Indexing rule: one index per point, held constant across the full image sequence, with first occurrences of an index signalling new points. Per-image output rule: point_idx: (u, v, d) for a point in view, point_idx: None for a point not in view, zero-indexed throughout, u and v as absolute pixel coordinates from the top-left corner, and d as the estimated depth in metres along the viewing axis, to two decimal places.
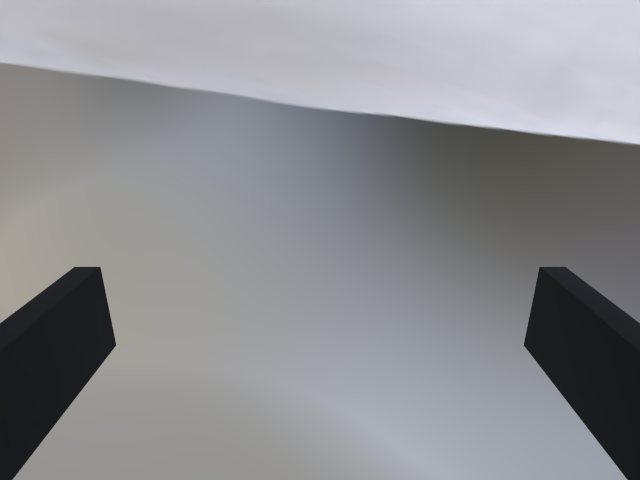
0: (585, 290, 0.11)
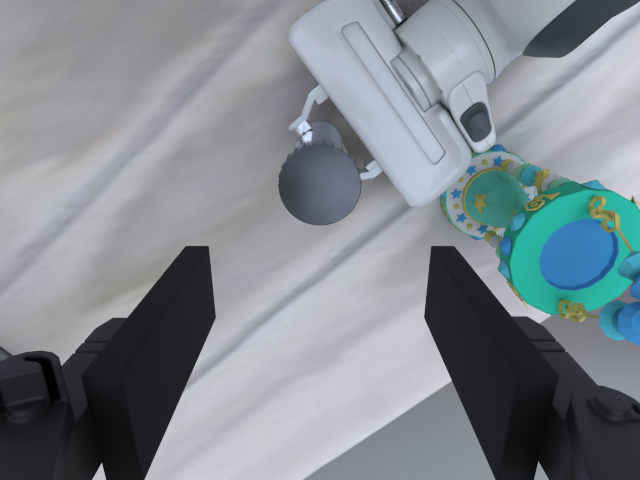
0: (459, 264, 0.12)
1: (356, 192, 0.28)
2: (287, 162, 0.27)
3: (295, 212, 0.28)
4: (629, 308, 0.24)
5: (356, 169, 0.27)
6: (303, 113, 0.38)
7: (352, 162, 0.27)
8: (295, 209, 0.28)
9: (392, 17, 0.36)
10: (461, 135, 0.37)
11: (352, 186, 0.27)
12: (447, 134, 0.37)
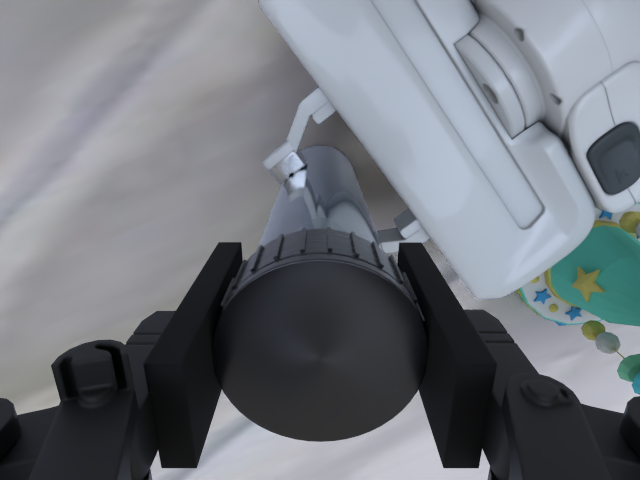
0: (422, 260, 0.13)
1: (415, 372, 0.11)
2: (231, 303, 0.10)
3: (257, 415, 0.11)
4: None
5: (418, 320, 0.10)
6: (290, 139, 0.21)
7: (408, 303, 0.10)
8: (259, 410, 0.11)
9: None
10: (581, 181, 0.20)
11: (406, 359, 0.10)
12: (555, 179, 0.20)
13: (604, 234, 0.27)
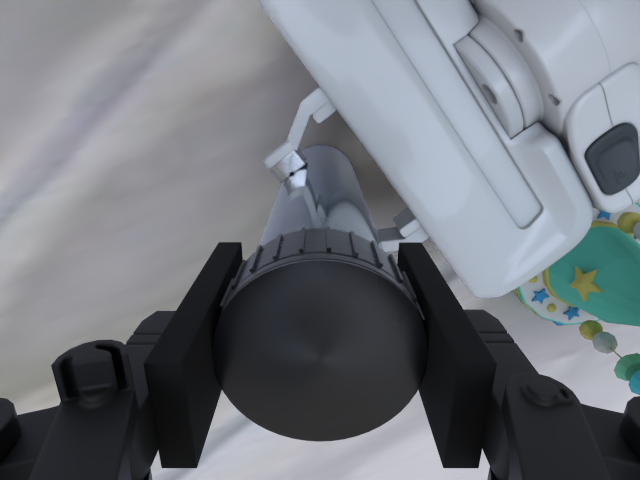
0: (422, 260, 0.13)
1: (298, 270, 0.10)
2: (294, 436, 0.11)
3: (408, 387, 0.11)
4: None
5: (238, 294, 0.10)
6: (290, 139, 0.21)
7: (226, 309, 0.10)
8: (401, 388, 0.11)
9: None
10: (579, 181, 0.20)
11: (286, 286, 0.10)
12: (553, 179, 0.20)
13: (602, 234, 0.27)
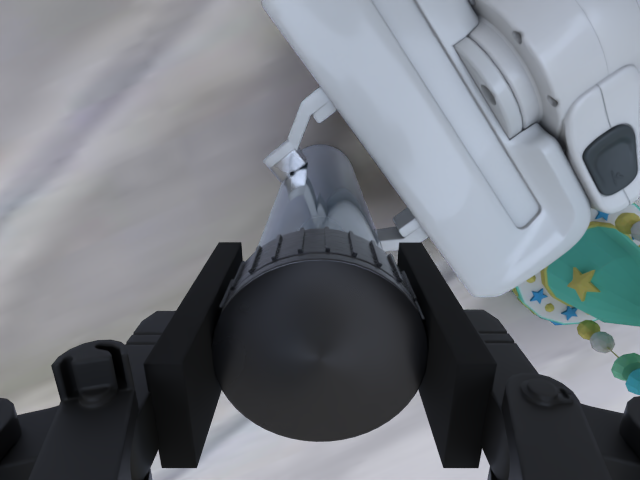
0: (422, 260, 0.13)
1: (240, 401, 0.11)
2: (425, 350, 0.10)
3: (319, 270, 0.10)
4: None
5: (283, 434, 0.11)
6: (291, 138, 0.21)
7: (302, 438, 0.11)
8: (323, 276, 0.10)
9: None
10: (577, 182, 0.20)
11: (259, 405, 0.11)
12: (551, 180, 0.20)
13: (600, 235, 0.27)
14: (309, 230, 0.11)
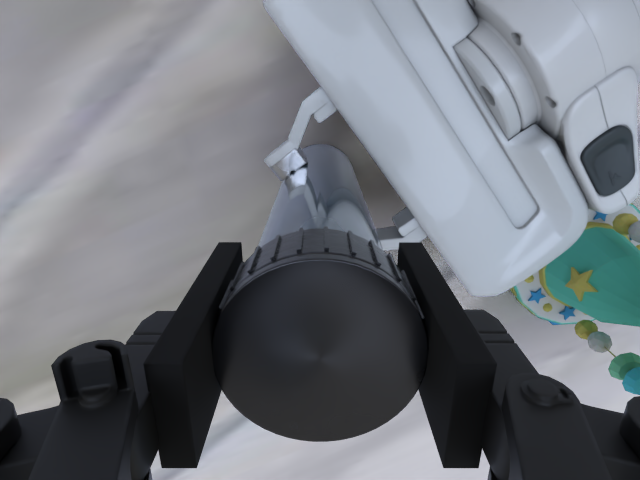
0: (422, 260, 0.13)
1: (395, 404, 0.11)
2: (268, 274, 0.10)
3: (231, 387, 0.11)
4: None
5: (424, 360, 0.10)
6: (291, 137, 0.21)
7: (424, 342, 0.10)
8: (235, 383, 0.11)
9: None
10: (575, 182, 0.21)
11: (394, 389, 0.11)
12: (550, 180, 0.21)
13: (598, 235, 0.27)
14: None
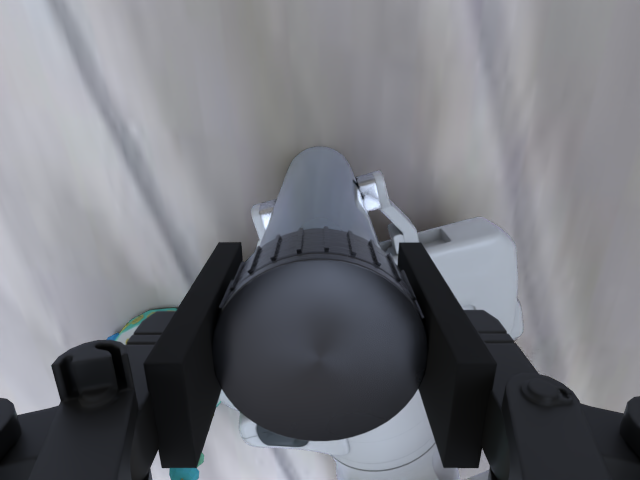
0: (422, 260, 0.13)
1: (395, 404, 0.11)
2: (268, 273, 0.10)
3: (231, 387, 0.11)
4: None
5: (424, 360, 0.10)
6: (391, 209, 0.23)
7: (424, 342, 0.10)
8: (235, 382, 0.11)
9: None
10: None
11: (394, 389, 0.11)
12: None
13: None
14: None
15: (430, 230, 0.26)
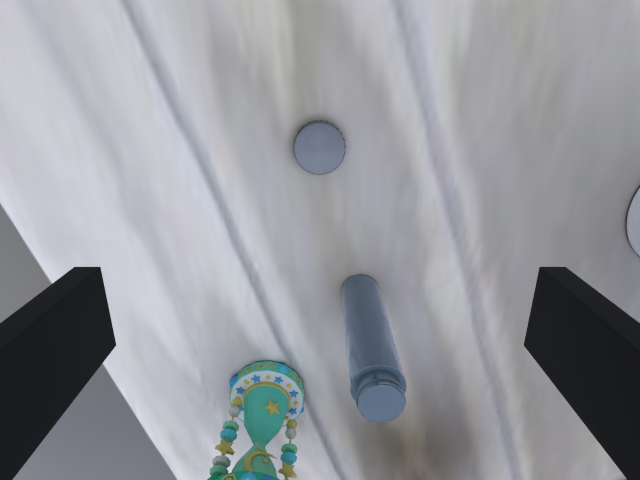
0: (585, 290, 0.11)
1: (338, 162, 0.45)
2: (308, 126, 0.43)
3: (298, 157, 0.45)
4: None
5: (344, 149, 0.44)
6: None
7: (343, 144, 0.44)
8: (299, 156, 0.45)
9: None
10: None
11: (337, 158, 0.45)
12: None
13: (286, 411, 0.55)
14: None
15: None
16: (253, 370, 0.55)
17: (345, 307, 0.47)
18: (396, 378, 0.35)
